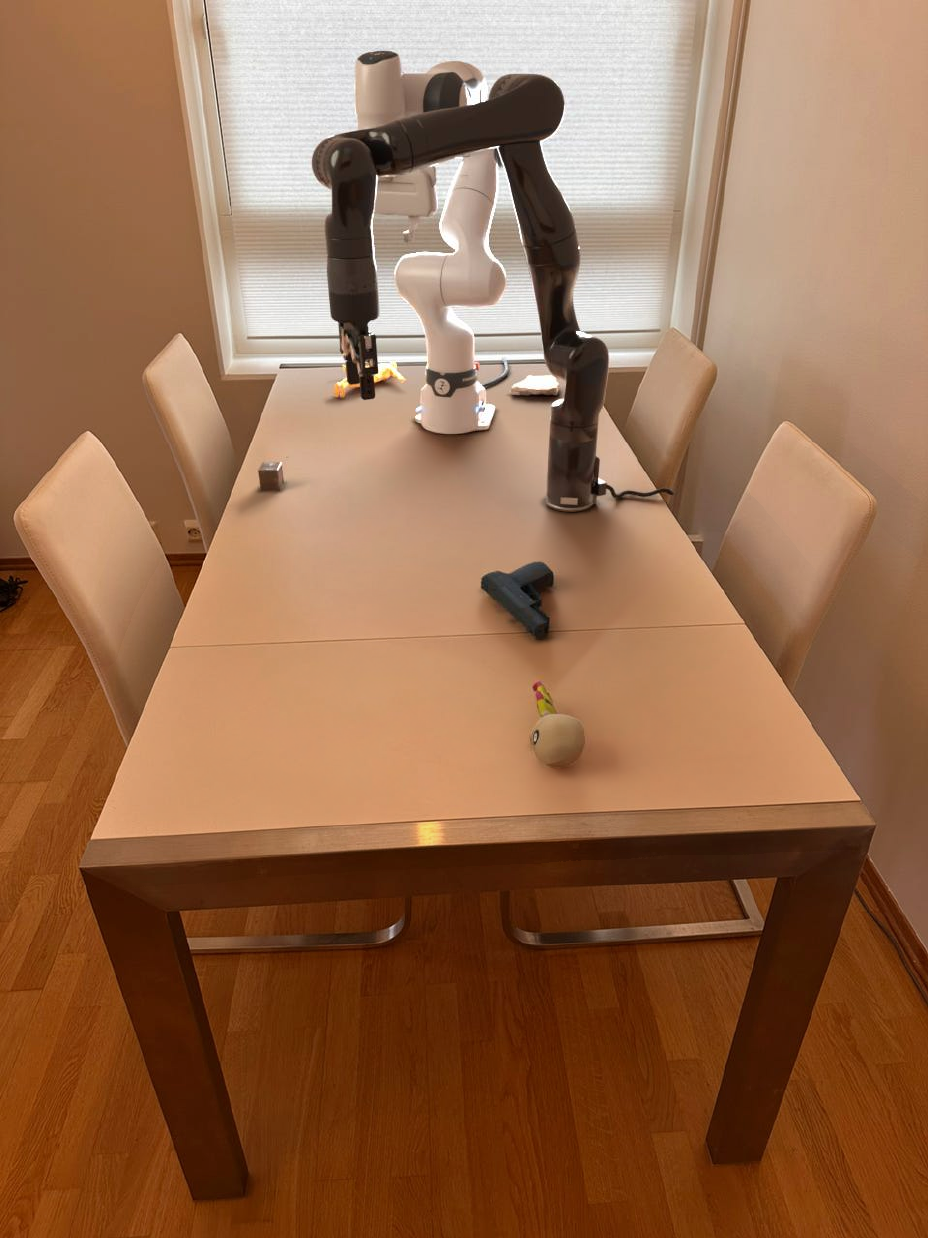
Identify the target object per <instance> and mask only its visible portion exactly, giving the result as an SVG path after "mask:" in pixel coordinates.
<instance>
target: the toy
mask: <svg viewBox="0 0 928 1238" xmlns="http://www.w3.org/2000/svg"><path fill="white" fill-rule="evenodd" d="M532 691H533V692H535V705H536V708H537V711H538V714H539V716H540V719H538V721H537V722H536V723H535V725H534V726H533V728H532V730H531V732H530V734H529V743H530V745H531V746H533V748H534V752H535V757H536V758H537V760H538V761H539V762H540V763H542V764H544V765H546V766H548V767H550V768H554V769H562V768H568V767H571V766H572V765H574V764H575V763H576V762H577V761H578V759H580V756H581V755H582V754H583V751H584V749H585V745H586V736H585V729H584V725H583V723H582V721H581V720H580V719H578V718H575V717H574V716H571V715H569V714H564V713H558V712H557V709H556V707H555V704H554V700H553V698H552V696H551V694H550V693H549V692H548V690H547V688H546V686H544V684H543V683H542V681H540V680H537V681H536V682H535V683H533V685H532Z"/></svg>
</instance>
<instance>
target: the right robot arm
mask: <svg viewBox="0 0 928 1238" xmlns="http://www.w3.org/2000/svg"><path fill="white" fill-rule="evenodd" d="M565 110H566V102H565V96H564V93H563V91H562V89H561V88H560V86H559V84H558V83H557V82H556V81H555V80H553V79H552V78H550V77H548V76H545V75H543V74H538V73H508V74H504V75H502V76H500V77H499V78H498V79H497V80H496V81H494V83H493V85H492V87H490V91H489V93H488V98H487V100H485V101H483V102H480V103H476V104H471V105H466V106H461V107H454V108H448V109H441V110H435V111H430V112H425V113H420V114H416V115H413V116H409V117H406V118H402V119H399V120H396V121H392V122H390V123H387V124H385V125H382V126H379V127H375V128H370V129H363V130H358V129H357V130H352V131H347V132H346V131H345V132H341V133H337V134H333V135H331V136H328V137H326V138H324V139H322V140H321V141H320V142H319V143H318V144H317V146H316V147H315V149H314V150H313V153H312V156H311V169H312V172H313V174H314V177H315V178H316V180H317V181H318V183H320V184H321V185H322V186H324V187H325V188H326V189H329V190H330V191H331V190H332V196H331V212H330V213H328V214H327V215H326V217H325V219H324V235H325V236H324V239H325V248H326V249H325V250H326V278H327V279H326V280H327V290H328V300H329V301H328V302H329V312H330V317H331V319H332V320H333V321H334V322H337V323H338V324H337V327H338V337H339V338H338V339H339V353H340V354H341V355H342V358H343V361H344V362H345V363H344V364H345V366H346V371H345V373H346V377H347V382H348V383H349V384H350V385H353V384H359V383H360V387H359V392H360V398H361V399H362V401H368V400H369V401H370V400H374V399H375V398H376V386H375V384H376V383H374V375H375V374H378V373H379V369H378V364H379V361H378V360H379V359H378V348H377V347H378V346H377V336H376V334H375V333H372V331H370V330H369V325H368V324H369V323H370V322H372V321H375V320H377V319H378V318H379V317H380V301H379V285H378V269H377V264H376V259H375V247H374V246H375V245H374V235H373V234H374V232H373V231H374V230H373V218H374V214H373V213H374V206H375V197H376V188H377V177H382V176H391V177H394V176H401V175H405V174H408V173H412V172H415V171H418V170H421V169H424V168H427V167H432V166H433V165H434V166H436V165H439V164H442V163H445V162H449V161H451V160H454V159H458V158H457V157H460V156H464V155H467V154H470V153H474V152H477V151H481V150H485V149H489V148H494V147H497V148H498V151H499V154H500V157H501V160H502V163H503V166H504V167H503V169H504V172H505V176H506V179H507V182H508V186H509V191H510V196H511V200H512V204H513V209H514V213H515V216H516V221H517V224H518V229H519V235H520V240H521V245H522V249H523V253H524V258H525V261H526V266H527V269H528V274H529V277H530V281H531V286H532V292H533V297H534V301H535V304H536V309H537V315H538V320H539V328H540V336H541V337H540V338H541V345H542V347H541V348H542V355H543V359H544V363H545V366H546V368H547V371H548V372H549V373H550V374H551V376H554V377H555V378H556V380H559V381H562V382H564V383H565V386H564V387H565V388H564V389H565V390H564V396H563V398H560V399H557V400H555V401H554V402H552V403H551V405H550V410H549V431H548V448H547V449H548V450H547V453H548V454H547V473H546V492H545V504H546V506H548V507H549V508H551V509H553V510H555V511H559V512H564V513H565V512H567V513H576V512H582V511H586V510H588V509H590V508H591V507H592V506H593V505H596V504H597V501H598V500H597V499H598V497H602V496H606V495H607V490H608V491H609V492H610V495H611V496H612V497H613V498H614V499H617V500H618V499H621V498H622V497H624V496H625V495H632V496H636V497H642V498H647V497H653V496H656V495H657V494H660V493H666V494H667V495H669V496H673V495H675V494H674V492H673V491H672V490H671V489H669V488H667V487H662V488H661V487H660V488H658V489H655V490H652V491H648V492H641V491H636V490H631V489H629V490H623V491H621V492H619V493H618V494H617V493H616V491H615V489H614V488H613V487H612V486H611V485H609V484H608V482H606V481H605V480H603V479H602V478H600V477H599V475H600V463H601V460H600V459H601V458H600V457H599V456H597V447H598V446H597V445H598V434H599V433H598V431H599V420H600V413H601V411H602V409H603V407H604V404H605V400H606V394H607V393H606V392H607V387H608V386H607V385H608V378H609V371H610V354H609V350H608V346H607V345H606V343H605V342H604V341H603V340H602V339H600V338H598V337H596V336H594V335H591V334H588V333H585V332H582V331H581V329H580V326H579V323H578V319H577V315H576V309H575V305H574V291H575V287H576V283H577V280H578V275H579V271H580V266H581V249H580V243H579V239H578V233H577V227H576V223H575V219H574V216H573V214H572V211H571V209H570V206H569V205H568V203H567V201H566V199H565V197H564V195H563V194H562V192H561V190H560V188H559V187H558V185H557V183H556V181H555V180H554V178H553V176H552V175H551V172H550V169H549V168H548V167H549V166H548V164H547V161H546V159H545V155H544V151H543V150H544V149H543V145H542V143H543V142H544V141H546V140H548V139H549V138H552V136H554V135H555V134H556V132H557V131H558V130H559V128H560V127H561V124H562V122H563V120H564V117H565ZM366 363H368V366H370V367H366V366H367V365H366Z"/></svg>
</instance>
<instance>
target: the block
mask: <svg viewBox="0 0 928 1238" xmlns="http://www.w3.org/2000/svg"><path fill="white" fill-rule="evenodd" d="M257 472H258V479H259V487H260V491H261V492H281V490H282V489H283V486H284V484H285V479H284V472H283V463H282V462H281V461H279V462H278V461H274V462H273V461H270V462H269V461H263V462H261V464H260V466H259V467H258V470H257Z"/></svg>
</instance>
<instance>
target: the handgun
mask: <svg viewBox="0 0 928 1238" xmlns="http://www.w3.org/2000/svg"><path fill="white" fill-rule="evenodd" d="M480 579H481V581H480V589H481V590H482V591H484V592H485V593H486V594H488V595H489V597H490V598H491V599H492V600H494V601H495V602H497V603H498V604H499V605H500V606H501V607H502V608H503V609H505V611H506V612H507V613H508V614H510V615H511V617H512V618H513V619H515V621H517V622H518V623H519V624H520V625H521V626H522V627H524V628H525V631H526V633H530V634H531V635H532V636H533V637H534V638H535V639H536V640H539V639H543V638H546V637H547V636H548V634H549V629H550V617H549V616H548V614H546V613H545V612H544V611H543V610H542V609H541V607H543V598H542V596H541V595H539V593H540V592H542V591H545V590H546V589H548V588H549V587H550V588H552V587H553V586H554V583H555V582H554V581H555V575H554V571H553V570H552V569H551V568H550V567H549V566H548V565H547V564H546V562H543V561H531V562H529V563H527V564H525V565H523V566H520V567H518V568H517V569H515V570H513V571H511V572H510V573H507V572H503V571H500V570H495V571H492V572H491V571H490V572H487V573H485V574H484V575H483V576H482V577H481V578H480Z"/></svg>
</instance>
